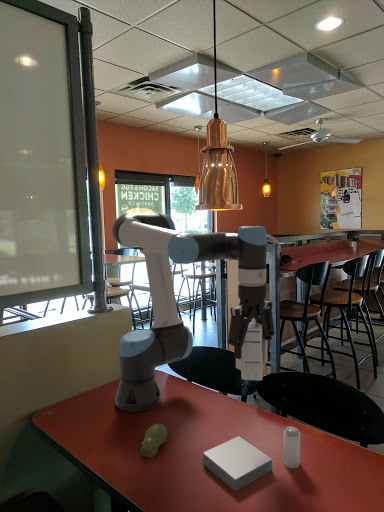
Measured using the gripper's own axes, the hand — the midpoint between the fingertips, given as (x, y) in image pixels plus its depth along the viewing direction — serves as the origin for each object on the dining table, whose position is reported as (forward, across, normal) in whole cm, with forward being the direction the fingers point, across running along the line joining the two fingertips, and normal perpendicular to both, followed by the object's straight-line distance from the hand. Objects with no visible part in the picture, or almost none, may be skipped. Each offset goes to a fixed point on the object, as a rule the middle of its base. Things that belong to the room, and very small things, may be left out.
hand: (251, 365), depth 104 cm
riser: (+21, -12, -7) cm, 25 cm away
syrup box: (+3, 0, 0) cm, 3 cm away
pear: (+22, -24, +13) cm, 35 cm away
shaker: (+21, 0, -14) cm, 25 cm away
